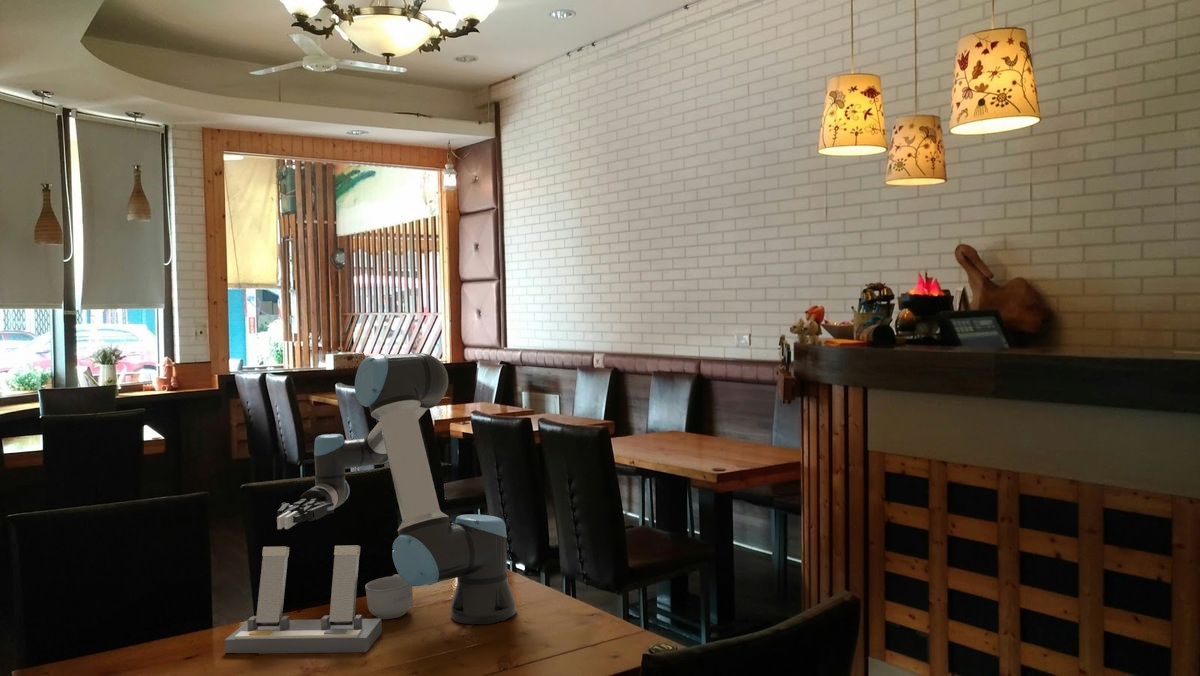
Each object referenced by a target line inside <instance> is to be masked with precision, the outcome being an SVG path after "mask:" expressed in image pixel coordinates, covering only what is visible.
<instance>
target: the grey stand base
mask: <svg viewBox="0 0 1200 676" xmlns="http://www.w3.org/2000/svg"><path fill="white" fill-rule="evenodd" d="M256 616H257V615H253V616H250V617H249V618H247V621H246V622H245V623H243V624H242V625H241V626H240V627H238V628H237V629H236V630H234V632H232V633H231V634H229V636H227V637H226V638H225V639H224V654H225V653H258V654H312V653H313V654H315V653H316V654H323V653H324V654H325V653H326V654H327V653H328V654H329V653H367V652H368V651H369V650H370V648H371V646H372V645H374V643H375V642H376V640H377V639H378V638H379V636H380V635H381V634H382V633H383V623H382V620H383V619H379V618H363V614H356V615H355V617H354V618H353V625H336V626H331V625H330V622H329V618H330V614H329V615H328V614H327V615H326V614H325V615H323V616H322V618H321V619H290V615H282V618H281V619H280V626H261V627H258V626H257V623H256Z"/></svg>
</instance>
